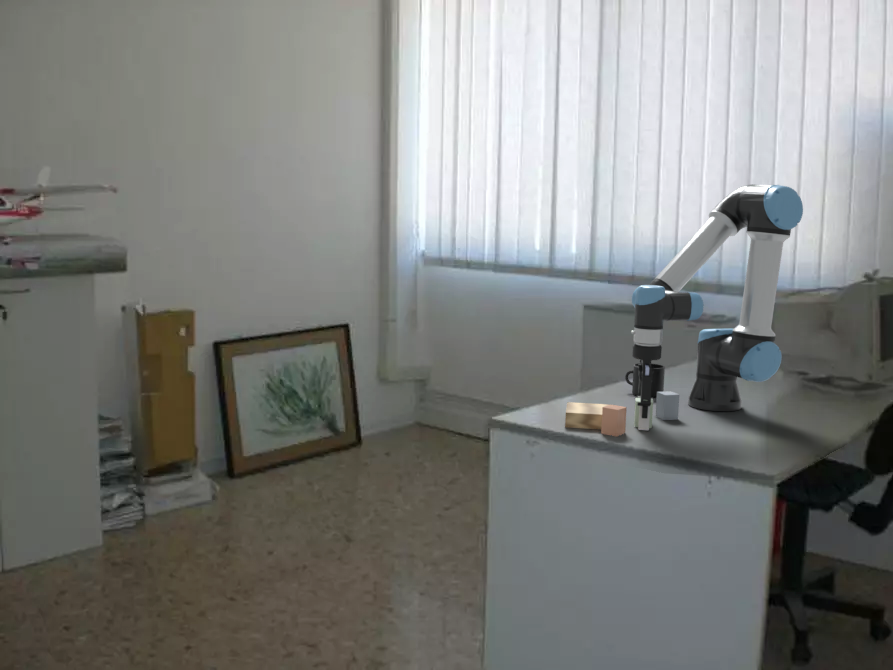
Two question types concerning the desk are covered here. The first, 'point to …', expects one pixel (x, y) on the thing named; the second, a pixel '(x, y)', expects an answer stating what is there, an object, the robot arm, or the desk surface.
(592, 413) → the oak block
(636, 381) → the mug
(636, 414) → the sage brick
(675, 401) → the slate brick
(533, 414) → the desk surface
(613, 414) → the terracotta brick
